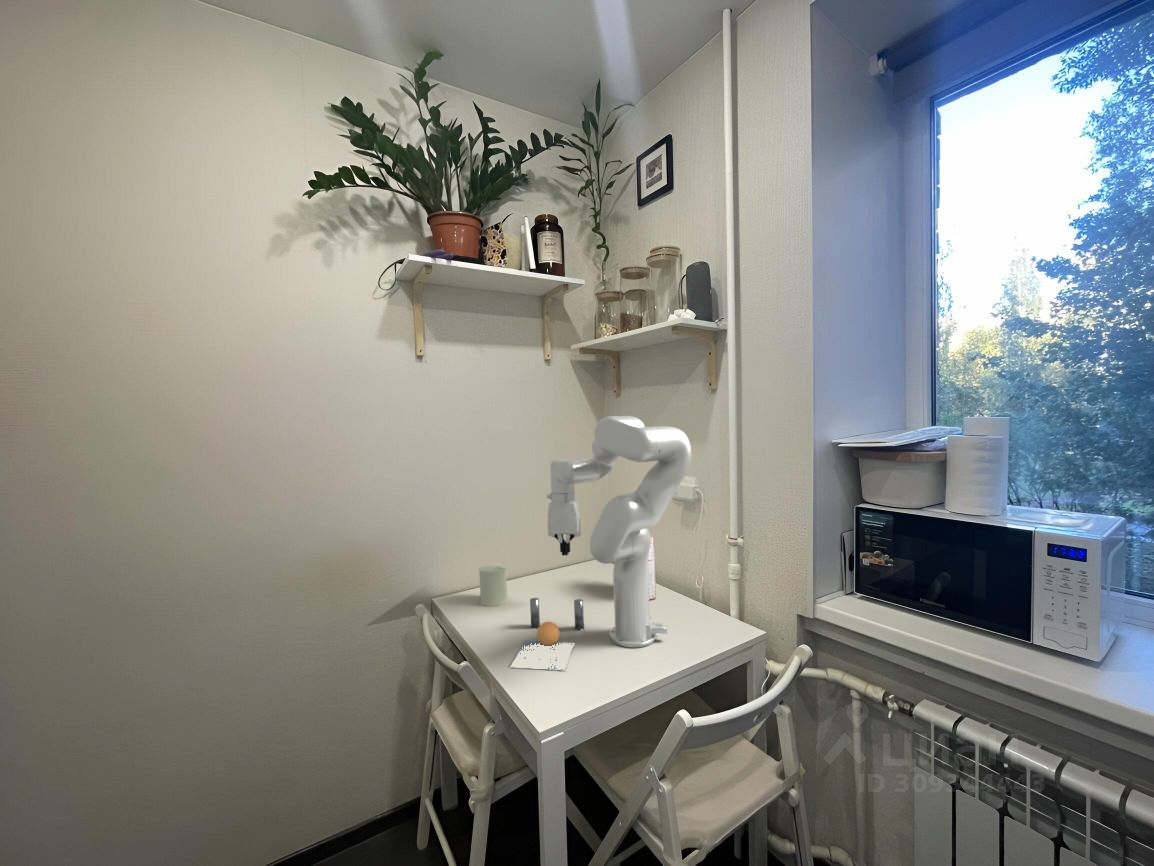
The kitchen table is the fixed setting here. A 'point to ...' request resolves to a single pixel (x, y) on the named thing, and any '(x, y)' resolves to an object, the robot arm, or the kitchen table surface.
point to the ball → (548, 634)
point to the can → (493, 584)
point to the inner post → (579, 614)
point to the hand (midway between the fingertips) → (565, 554)
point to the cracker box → (651, 571)
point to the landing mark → (528, 642)
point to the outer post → (534, 612)
